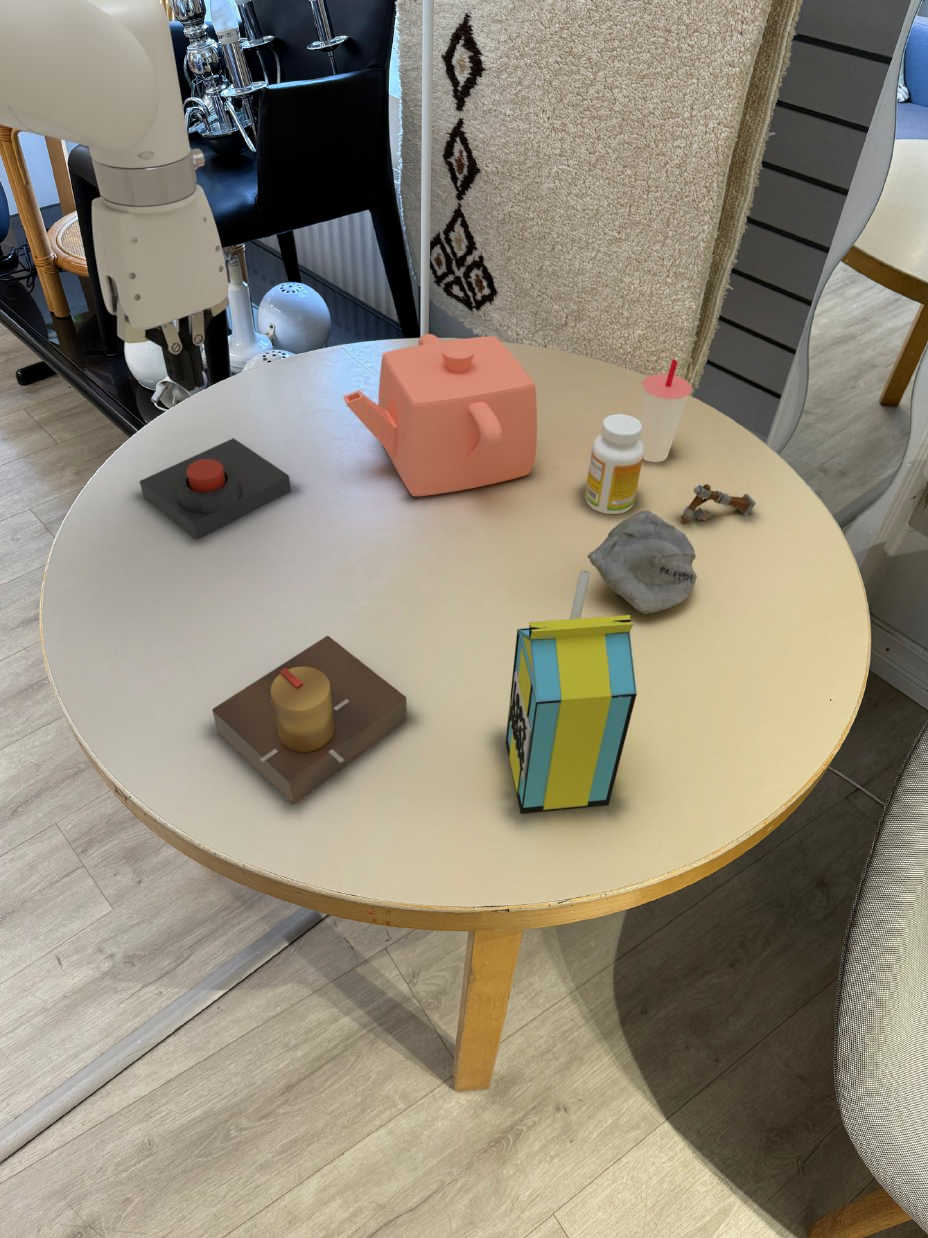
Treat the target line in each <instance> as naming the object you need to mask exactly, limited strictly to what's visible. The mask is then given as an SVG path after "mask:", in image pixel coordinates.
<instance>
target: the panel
mask: <svg viewBox="0 0 928 1238" xmlns="http://www.w3.org/2000/svg"><path fill="white" fill-rule="evenodd" d="M295 667H311V668H315V669H317V670H319V671H321V672H322V673H324V674H325V675H326V677H327V678H328V680H329V682H330V690H331V699H332V708H333V718H334V727H335V728H334V734H333V736H332V738H331V739H330V741H329V742H328V743H327V744H326V745H324V746H323V747H321V748H319V749H317V750H314V751H310V752H297V751H293V750H291V749H289V748H287V747H286V746H284V745H283V744H282V743H281V741H280V739H279V737H278V732H277V726H276V720H275V715H274V709H273V703H272V698H271V686H272V683H273V681H274V680H275V679H276V678H277V676H279V675H280V671H281V670H283V669H285V668H286V669H291V668H295ZM407 709H408V708H407V697H406V696H405V694H403V693H401V692H400V691H399V690H398V689H397V688H395V687H394V686H393V685H392V684H391V683H389V682H387V680H385V679H384V678H383V677H382V676H380V675H379V674H377V673H376V672H375V671H373V670H372V669H371V668H370V667H369V666H368V665H366V664H365V663H363V662H362V660H359V659H358V658H357V657H356V656H355V655H354V654H352V653H351V652H350V651H348V650H347V649H346V648H345V647H343V646H342V645H340V643H338V642H337V641H336V640H334V639H333V638H332V637H330V636H329V635H326V636H324V637H323V638H321V639H320V640H318V641H316V642H315V643H313V644H312V645H310V646H309V647H307V648H305V649H304V650H302V651H301V652H299V653H298V654H295V656H293V657H291V658H289V659H288V660H287V661H285V662H284V663H282V664H280V665H279V666H277V667H275V668H274V669H273V670H271V671H270V672H268V673H266V674H265V675H263V676H262V677H260V678H259V679H257V680H255V681H254V682H252V683H251V684H249V685H247V686H246V687H244V688H243V689H242V690H239V691H238V692H236V693H235V694H234V695H232V696H231V697H229V698H227V699H225V700H224V701H223V702H221V703H219V704H218V705H216V706H215V707H213V708H212V709H211V711H212V715H213V719H214V722H215V727H216V730H217V734H219V735H220V737H222V738H223V739H224V741H226V742H227V743H228V744H229V745H230V746H231V747H232V748H233V749H235V751H236V752H237V753H238V754H240V755H241V756H242V757H243V759H245V760H246V761H247V762H248V763H249V764H250V765H251V766H252V767H253V768H255V770H256V771H257V772H258V773H259V774H261V775H262V777H264V778H265V779H266V780H267V781H268V782H269V783H270V784H271V785H272V786H273V787H274V788H275V789H276V790H277V791H279V792H280V793H281V794H282V795H283V796H284V798H286V800H288V801H289V802H290V803H291V805H295V804H297V803H298V802H300V801H301V800H302V799H304V798H305V797H306V796H308V795H309V794H310V793H311V792H313V791H315V790H316V789H317V788H319V786H321V785H322V784H324V783H325V782H326V781H327V780H329V779H331V778H332V777H333V776H334V775H336V774H338V772H340V771H341V770H343V769H344V768H345V767H346V766H348V765H349V764H350V763H352V762H353V761H354V760H356V759H357V758H358V757H360V756H361V755H362V754H364V753H365V752H366V751H368V750H369V749H370V748H372V747H373V746H375V745H376V744H377V743H378V742H380V741H381V740H383V739H384V738H385V737H387V736H388V735H389V734H391V733H392V732H393V731H394V730H396V729H397V728H398V727H400V726H401V725H403V724H404V723H405V722H407V720H408V714H407Z"/></svg>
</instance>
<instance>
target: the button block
mask: <svg viewBox="0 0 928 1238" xmlns="http://www.w3.org/2000/svg"><path fill="white" fill-rule="evenodd" d="M203 459H212V460H216V461H218V462H220V463H221V464H222V466H223V470H224V475H225V485H224V486H223V487H222V488H220V489H217V490H215V491H209V492H197V491H194V490H192V489H191V488H190V485H189V480H188V476H187V468H188V466H189V465H190V464H192V463H194V462H196V461H198V460H203ZM139 485H140V489H141V493H142V496H143V498H144V499H145V500H146V501H147V502H149V503H150V504H151V505H152V506H153V507H155V508H156V509H158V510H159V511H160V512H161V513H162V514H164V515H165V516H166V517H168V518H169V519H170V520H171V521H172V522H174V523H175V524H176V525H178V526H179V527H180V528H181V529H183V530H184V531H185V532H186V533H188V534H189V535H190V536H191V537H193V538H194V539H195V540H197V541H198V540H200V539H202V538H204V537H206V536H208V535H210V534H213V533H214V532H215V531H218V530H220V529H222V528H224V527H225V526H227V525H230V524H231V523H234V522H235V521H237V520H239V519H241V518H243V517H245V516H247V515H248V514H250V513H253V512H254V511H256V510H258V509H260V508H262V507H265V506H266V505H268V504H270V503H271V502H274V501H276V500H278V499H279V498H282V497H284V496H285V495H288V494H290V493H291V492H292V489H291V481H290V475H288V473H286V472H284V470H281V469H280V468H279V467H277V466H276V465H275V464H272V463H271V462H270V461H269V460H266V459H265V458H263V457H262V456H260V455H259V454H257V453H256V452H255V451H253V450H252V449H251V448H249V447H247V446H246V445H245V444H243V443H242V442H240V441H238V440H237V439H235V438H234V437H232V438H231V439H228V440H226V441H224V442H221V443H219V444H217V445H215V446H213V447H210V448H208V449H206V450H204V451H202V452H200V453H198V454H196V455H193V456H191V457H188V458H187V459H185V460H182V461H181V462H180V461H179V462H178V463H176V464H173V465H171V466H169V467H167V468H164V469H163V470H160V471H159V472H156V473H154V474H152V475H150V476H147V477H145V478H142V479H141V480H139Z"/></svg>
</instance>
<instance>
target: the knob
mask: <svg viewBox="0 0 928 1238" xmlns="http://www.w3.org/2000/svg"><path fill="white" fill-rule="evenodd" d="M271 698H272V703H273V709H274V715H275V720H276V726H277V732H278V737H279V739H280V741H281V743H282V744H283V745H284V746H286V747H287V748H289V749H291V750H293V751H297V752H310V751H314V750H317V749H319V748H321V747H323V746H324V745H326V744H327V743H328V742H329V741H330V739H331V738H332V736H333V734H334V728H335V727H334V718H333V708H332V699H331V690H330V682H329V680H328V678H327V677H326V675H325V674H324V673H322V672H321V671H319V670H317V669H315V668H311V667H295V668H291V669H286V668H285V669H283V670H281V671H280V675H279V676H277V678H276V679H275V680H274V681H273V683H272V686H271Z"/></svg>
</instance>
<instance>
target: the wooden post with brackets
mask: <svg viewBox="0 0 928 1238" xmlns="http://www.w3.org/2000/svg"><path fill="white" fill-rule="evenodd" d="M693 493H694V494H695V497H694V498H693V499H692V501H691V502H690V504H689V505H688V506H686V507H685V508H684V510H683V513H682V515H681V516H680V519H681V521H683V522H688V520H689V519H690V518H691V517H692V516H694V517H695V518H696V519H697V520H698V521H701V520H703V521H704V522H707V521H708V520H709V519H711V518H712V514H711V513H710V511H709V510H708V509H702V507H700V506H701V505H703V504H705V503H706V502H708V501H713V502H714V503H715V504H718V505H722V506H725V507H728V506H731V507H732V508H735V509H738V510H739V512H740V513H741V514H742V515H743V516H746V517H747V516H749V514H750V512H751V511H752V510H753V509H754V507H755V506H756V504H757V503H756V501H755V500H754V499H753V498H752V497H751V495H750V494H748V493H744V494H743V495H742V496H731V495H729V494H728V493H724V492H721V491H719V490H712V487H711V485H710V484H708V483H704V485H701V484H698V485H697V486H695V487H694V488H693ZM697 508H698V509H697Z"/></svg>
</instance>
